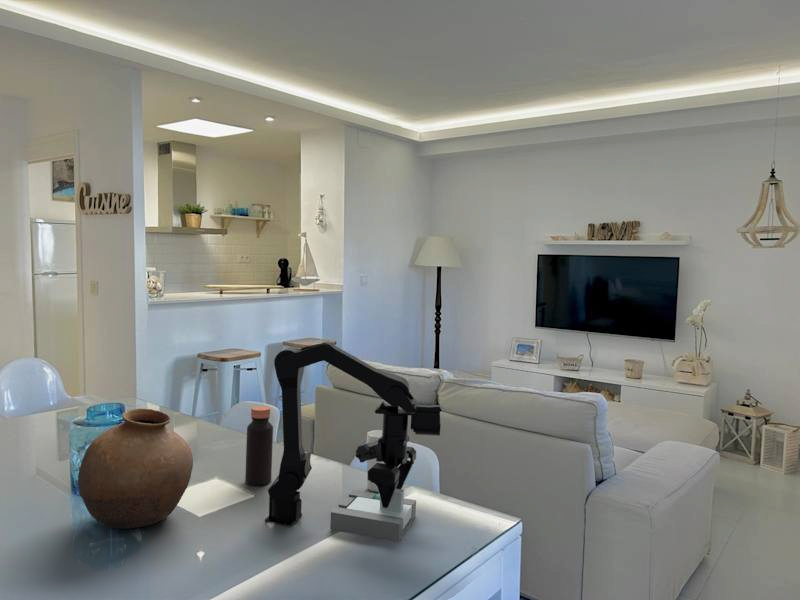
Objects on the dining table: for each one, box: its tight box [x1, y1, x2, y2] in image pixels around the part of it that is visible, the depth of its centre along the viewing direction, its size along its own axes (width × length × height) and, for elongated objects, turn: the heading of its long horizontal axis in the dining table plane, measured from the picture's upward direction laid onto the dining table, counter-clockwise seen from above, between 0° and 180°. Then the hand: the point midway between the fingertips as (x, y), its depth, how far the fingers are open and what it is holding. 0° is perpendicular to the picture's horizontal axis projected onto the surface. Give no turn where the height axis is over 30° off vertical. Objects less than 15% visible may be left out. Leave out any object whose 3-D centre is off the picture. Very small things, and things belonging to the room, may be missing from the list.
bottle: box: [244, 405, 274, 487], centre depth 158 cm, size 7×7×20 cm
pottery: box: [77, 408, 194, 530], centre depth 130 cm, size 23×23×25 cm
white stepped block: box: [346, 488, 412, 529], centre depth 136 cm, size 14×7×7 cm, turn 74°
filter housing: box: [329, 489, 417, 543], centre depth 136 cm, size 16×14×4 cm
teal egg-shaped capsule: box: [375, 492, 380, 500], centre depth 142 cm, size 3×3×3 cm
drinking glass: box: [366, 429, 385, 493], centre depth 157 cm, size 7×7×15 cm
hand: (391, 499), depth 135 cm, fingers open, 9 cm apart
